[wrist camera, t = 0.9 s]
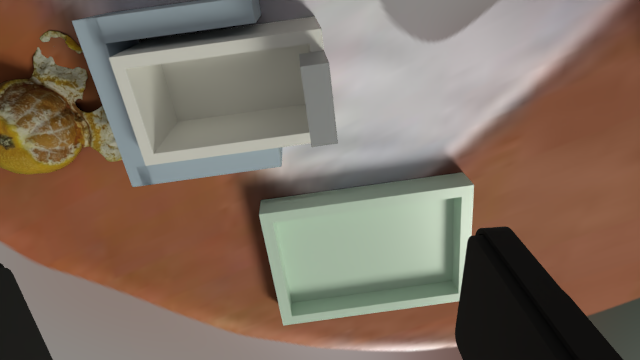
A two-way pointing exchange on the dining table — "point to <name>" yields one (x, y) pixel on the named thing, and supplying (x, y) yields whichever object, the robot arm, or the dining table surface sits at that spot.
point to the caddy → (228, 91)
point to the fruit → (50, 118)
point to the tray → (368, 247)
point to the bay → (98, 45)
